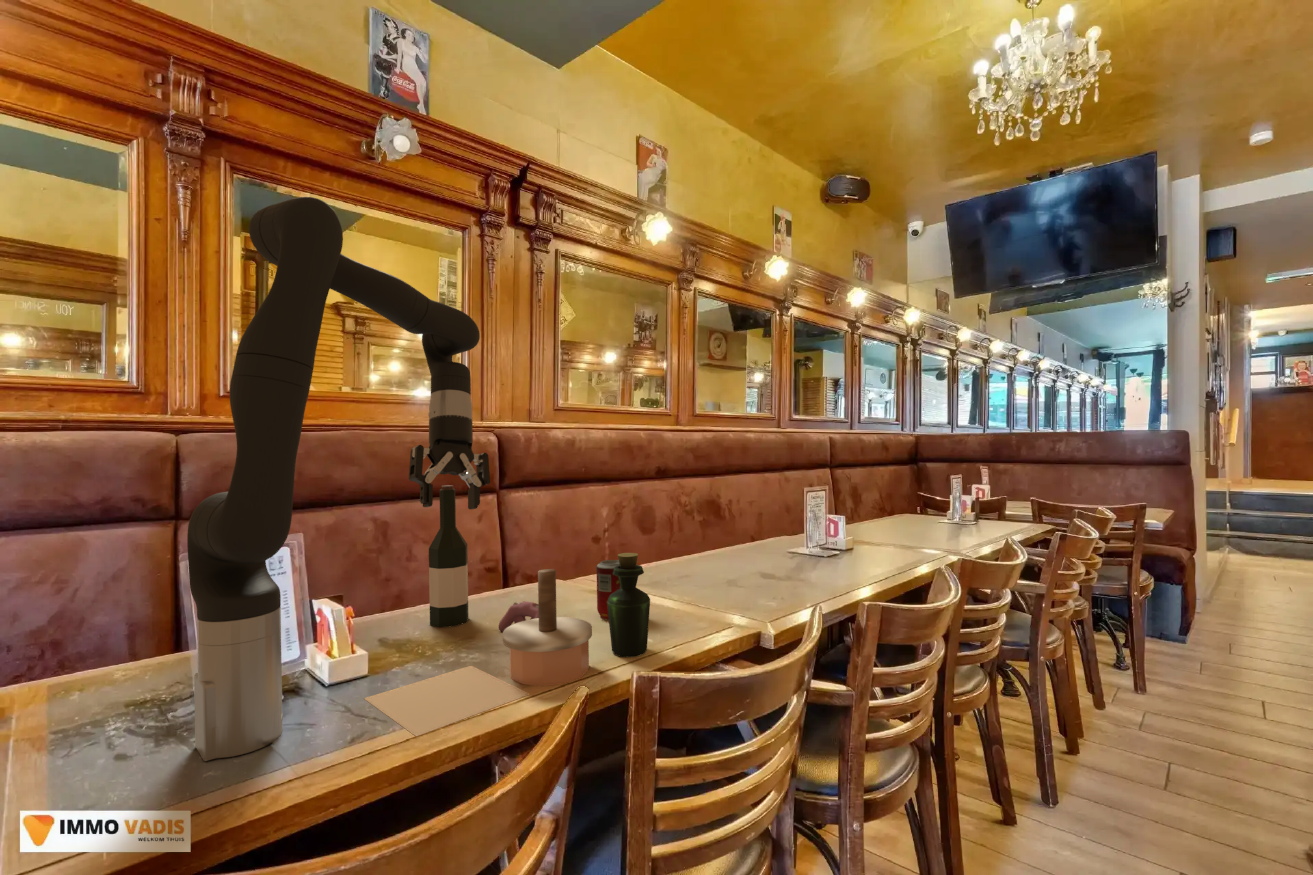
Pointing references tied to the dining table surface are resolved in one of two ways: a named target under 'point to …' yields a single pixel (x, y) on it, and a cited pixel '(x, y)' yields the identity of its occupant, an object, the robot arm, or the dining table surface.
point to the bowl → (549, 665)
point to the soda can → (606, 585)
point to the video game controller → (519, 614)
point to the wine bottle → (448, 568)
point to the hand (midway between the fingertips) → (451, 507)
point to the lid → (547, 624)
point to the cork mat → (444, 699)
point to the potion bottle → (628, 610)
